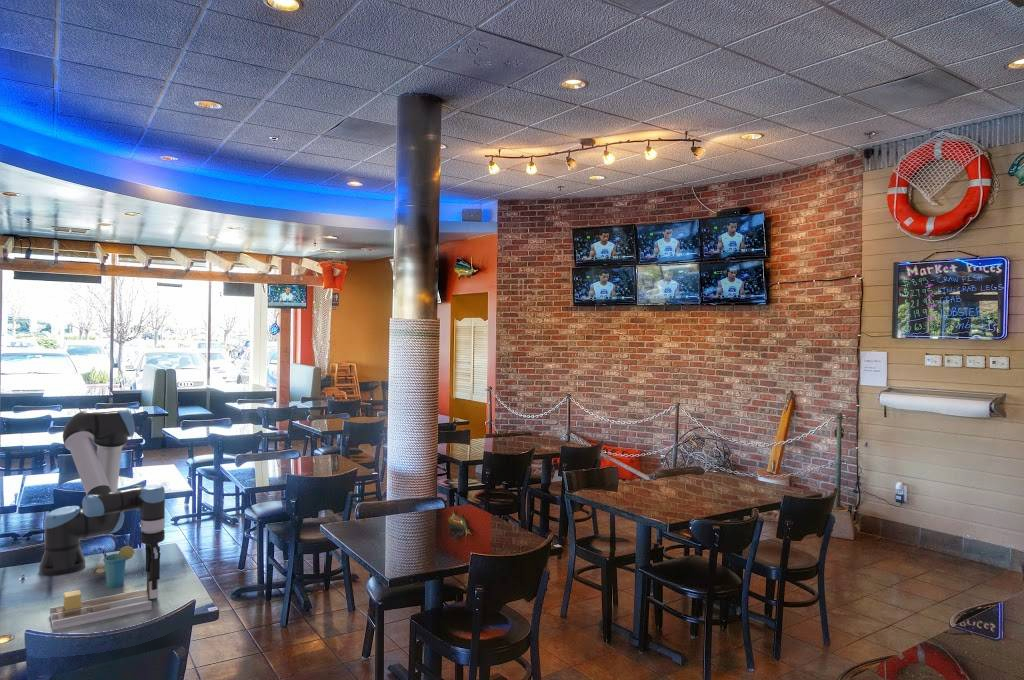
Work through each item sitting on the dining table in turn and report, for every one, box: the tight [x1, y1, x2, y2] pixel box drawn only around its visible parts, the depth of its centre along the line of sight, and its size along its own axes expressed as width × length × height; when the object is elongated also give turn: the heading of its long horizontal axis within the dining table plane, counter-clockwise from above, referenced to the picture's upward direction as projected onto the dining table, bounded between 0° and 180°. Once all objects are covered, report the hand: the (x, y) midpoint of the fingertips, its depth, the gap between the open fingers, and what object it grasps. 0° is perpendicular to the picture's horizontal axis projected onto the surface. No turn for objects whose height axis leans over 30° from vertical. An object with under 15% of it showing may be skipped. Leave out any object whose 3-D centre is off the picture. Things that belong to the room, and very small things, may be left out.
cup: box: [90, 545, 135, 589], centre depth 257 cm, size 14×8×15 cm, turn 129°
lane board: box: [49, 588, 152, 631], centre depth 234 cm, size 13×28×3 cm, turn 127°
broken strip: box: [57, 604, 110, 620], centre depth 229 cm, size 4×14×2 cm, turn 127°
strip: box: [56, 572, 150, 613], centre depth 238 cm, size 4×30×8 cm, turn 127°
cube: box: [63, 589, 82, 611], centre depth 232 cm, size 4×4×4 cm
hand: (152, 595), depth 246 cm, fingers closed on strip, 4 cm apart
